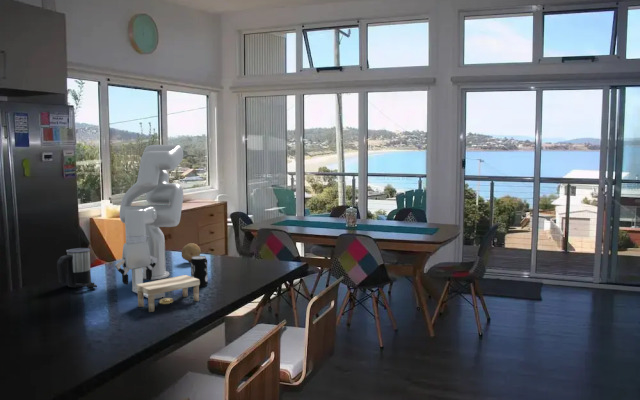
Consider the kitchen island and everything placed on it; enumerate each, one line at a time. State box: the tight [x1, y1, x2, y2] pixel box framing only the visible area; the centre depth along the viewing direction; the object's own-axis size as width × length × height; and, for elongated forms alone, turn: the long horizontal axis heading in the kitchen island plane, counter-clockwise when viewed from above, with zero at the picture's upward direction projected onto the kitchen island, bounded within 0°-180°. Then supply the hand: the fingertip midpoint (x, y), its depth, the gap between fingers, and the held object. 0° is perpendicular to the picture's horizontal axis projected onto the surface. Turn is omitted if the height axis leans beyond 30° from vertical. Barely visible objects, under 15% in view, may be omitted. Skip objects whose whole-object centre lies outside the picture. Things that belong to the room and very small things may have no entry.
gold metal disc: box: [158, 297, 174, 305], centre depth 199 cm, size 5×5×1 cm
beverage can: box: [190, 255, 209, 289], centre depth 221 cm, size 7×7×12 cm
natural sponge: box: [181, 242, 202, 264], centre depth 261 cm, size 9×9×10 cm
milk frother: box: [56, 247, 98, 290], centre depth 219 cm, size 14×16×15 cm
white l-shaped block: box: [131, 267, 166, 300], centre depth 210 cm, size 18×6×9 cm, turn 44°
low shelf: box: [136, 274, 200, 313], centre depth 197 cm, size 10×20×8 cm, turn 135°
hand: (137, 281), depth 215 cm, fingers open, 9 cm apart
